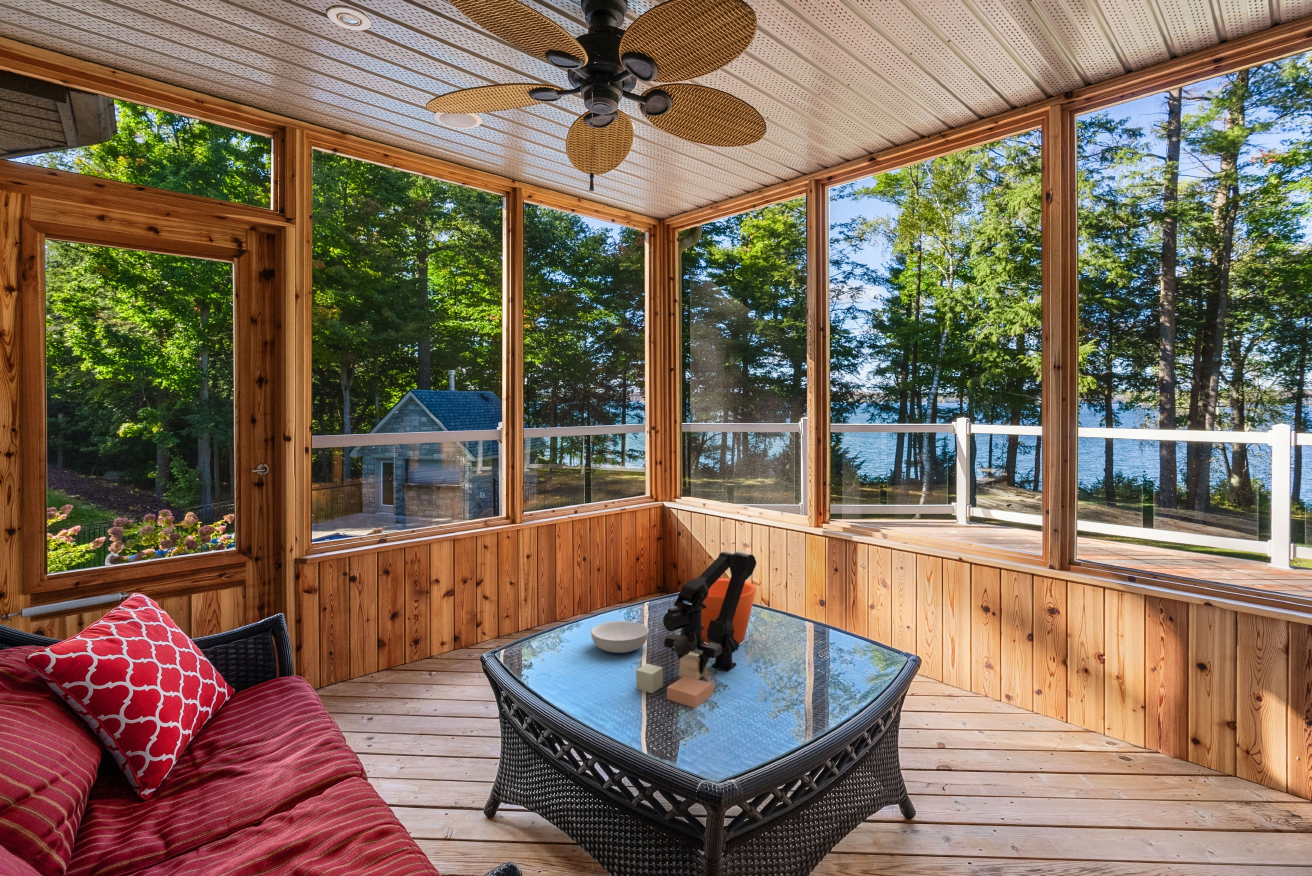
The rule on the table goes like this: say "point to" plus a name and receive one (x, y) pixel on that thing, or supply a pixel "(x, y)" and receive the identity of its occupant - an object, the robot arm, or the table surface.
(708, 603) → the flowerpot
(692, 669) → the maple cube
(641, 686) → the sage green cube
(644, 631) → the serving bowl
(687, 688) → the terracotta base block
